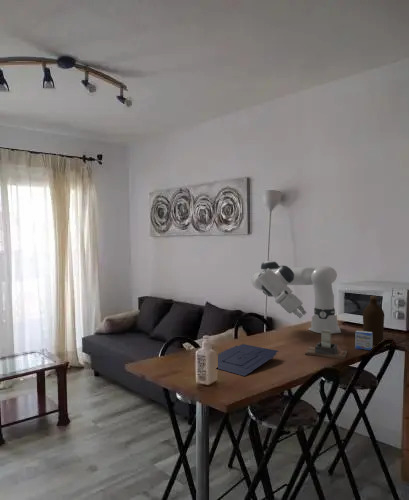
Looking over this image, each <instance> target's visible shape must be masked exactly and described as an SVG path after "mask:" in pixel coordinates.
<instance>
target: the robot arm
mask: <svg viewBox="0 0 409 500" xmlns="http://www.w3.org/2000/svg"><path fill="white" fill-rule="evenodd" d="M260 269H261V270H260V271H257V272H254V274H253V275H252V276H251V284H252V286H253V287H254V288H255V289H257V290H258V291H261V292H262V293H263V294H264V295H266V296H267V297H270V298H272V297H273V298H274V301H275V303H276V304H278V305H280V307H281V308H283V309H284V311H286V313H288V314H292V313H293V314H294V316H295V315H296V316H297V318H299V319H301V318H302V317H303V316H305V315H306V314H307V311H306V310H305V308H304V307H303V306H302V305H303V302H302V300H301V299H300V298H299V297H297V295H295V294H294V293H293V289H291V288H290V287H289V286H312V285H313V286H312V287H313V292H314V309H313V313H314V314H313V315H312V316H311V327H308V331H311V332H314V333H318V334H321V331H322V330H330V331H331V335H332V334H340V333H342V331H341V327H340V326H339V323H338V318H337V317H336V315H335V314H336V309H335V295H334V291H333V285H332V284H333V283H335V281H336V279H337V277H338V274H337V273H338V272H337V271H336V270H335V268H334V267H331V266H308V267H307V266H306V267H302V266H301V267H290V266H289V267H288V266H287V265H279V263H278V262H276V261H273V260H266V261H263V262H262V263H261V265H260ZM298 310H299V311H298Z"/></svg>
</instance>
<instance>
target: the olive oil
mask: <svg viewBox="0 0 409 500" xmlns="http://www.w3.org/2000/svg"><path fill="white" fill-rule="evenodd" d="M362 325H363V328H362V329H363V331H367V332H373V346H377V345H376V344H378V343H379V342H381V341H382V340H383V341H384V331H385V312H384V310H383V309H382V308H381V306H380V305H379V304H378V299H377V296H376V295H370V298H369V304H368V305H367V306H365V307H364V309H363V311H362Z"/></svg>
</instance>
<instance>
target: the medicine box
mask: <svg viewBox="0 0 409 500" xmlns="http://www.w3.org/2000/svg"><path fill="white" fill-rule="evenodd" d="M354 335H355V337H354V338H355V339H354V340H355V341H354V342H355V343H354V345H355V346H354V348H355V349H356V350H362V349H364V350H363V351H372V350H373V349H372V348H374V347H373V346H374V345H373V332H367V331H364V330H356V331H355V334H354ZM371 349H372V350H371Z"/></svg>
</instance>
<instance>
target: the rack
mask: <svg viewBox="0 0 409 500" xmlns="http://www.w3.org/2000/svg"><path fill="white" fill-rule="evenodd" d="M347 354H348V350H346V349H344V350H343V349H338V343H337V344H336V343H331V348H328V347H321V342H317V343H316V345H315V347H314V346H308V349H307V350H306V351H305V352H304V355H305V356H311V357H312V356H313V357H322V358H331V359H339V360H340V359H341V360H345V359H346V357H347Z"/></svg>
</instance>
